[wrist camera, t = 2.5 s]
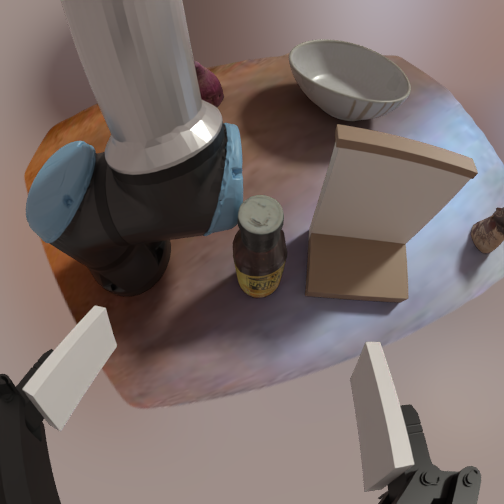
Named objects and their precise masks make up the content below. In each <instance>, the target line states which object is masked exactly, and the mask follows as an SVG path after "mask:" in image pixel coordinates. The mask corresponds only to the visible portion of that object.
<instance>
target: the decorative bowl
mask: <svg viewBox="0 0 504 504" xmlns="http://www.w3.org/2000/svg"><path fill="white" fill-rule="evenodd" d="M289 63H290V67H291V70H292V73H293V75H294V78H295V80H296V81H297V83H298V85H299V87H300V88H301V89H302V91H303V92H304V93H305V94H306V96H307V97H308V98H309V99H310V100H311V101H312V102H314V103H315V104H316V105H317V106H319V107H320V108H321V109H322V110H323V111H325V112H326V113H327V114H329V115H331V116H333V117H335V118H338V119H341V120H346V121H358V120H367V119H373V118H377V117H381V116H383V115H386V114H388V113H389V112H391V111H393V110H394V109H396V108H397V107H398V106H400V105H401V104H402V103H403V102H404V101H405V100H406V99H407V97H408V96H409V94H410V91H411V86H410V82H409V80H408V78H407V76H406V75H405V74H404V72H403V71H402V70H401V69H400V68H399V67H398V66H397V65H396V64H394V63H393V62H392V61H390V60H389V59H387V58H386V57H384V56H383V55H381V54H379V53H377V52H375V51H373V50H371V49H368V48H366V47H363V46H360V45H356V44H353V43H349V42H344V41H338V40H312V41H308V42H304V43H301V44H299V45H297V46H296V47H294V48H293V49H292V50H291V52H290V54H289Z"/></svg>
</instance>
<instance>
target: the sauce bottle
mask: <svg viewBox="0 0 504 504" xmlns="http://www.w3.org/2000/svg"><path fill="white" fill-rule="evenodd" d="M283 221H284V214H283V209H282V207H281V205H280V204H279V203H278V202H277V201H276V200H275V199H273V198H271V197H268V196H265V195H257V196H252V197H250V198H248V199H247V200H245V201H244V202H243V203H242V204H241V206H240V207H239V210H238V227H239V229H240V230H239V231H238V232H237V234H236V235H235V238H234V241H233V258H234V263H235V268H236V273H237V277H238V282H239V285H240V287H241V288H242V290H243V291H244V292H245V293H246V294H248V295H249V296H252V297H254V298H262V297H266V296H268V295H270V294H271V293H273V292H274V291H275V290H276V289H277V287H278V285H279V283H280V280H281V276H282V273H283V269H284V266H285V262H286V258H287V249H286V243H285V237H284V232H283V230H281V229H282V226H283Z"/></svg>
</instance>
